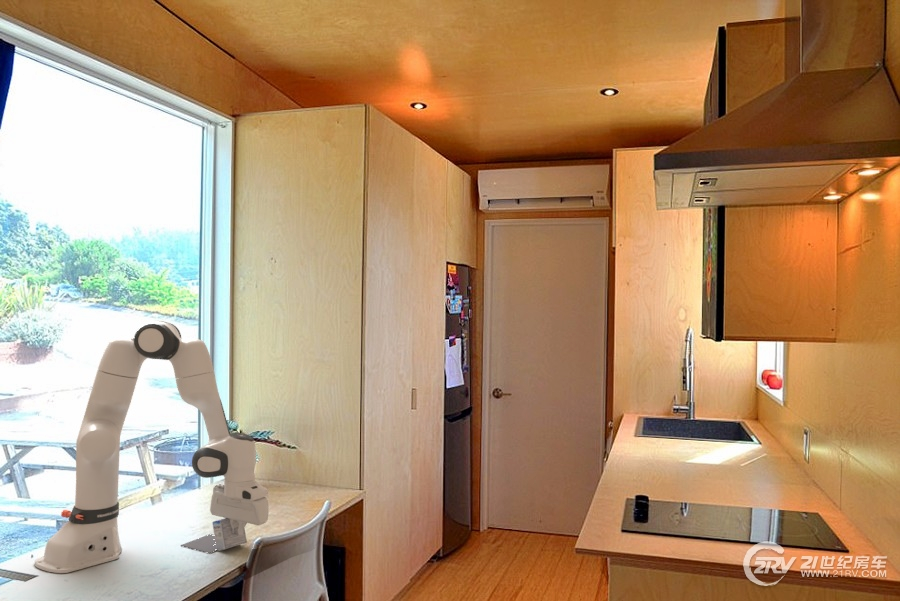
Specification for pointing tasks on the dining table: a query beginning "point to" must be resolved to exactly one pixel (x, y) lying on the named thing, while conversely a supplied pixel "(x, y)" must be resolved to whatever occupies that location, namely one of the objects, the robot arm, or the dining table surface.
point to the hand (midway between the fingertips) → (237, 534)
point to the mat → (202, 544)
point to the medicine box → (227, 535)
